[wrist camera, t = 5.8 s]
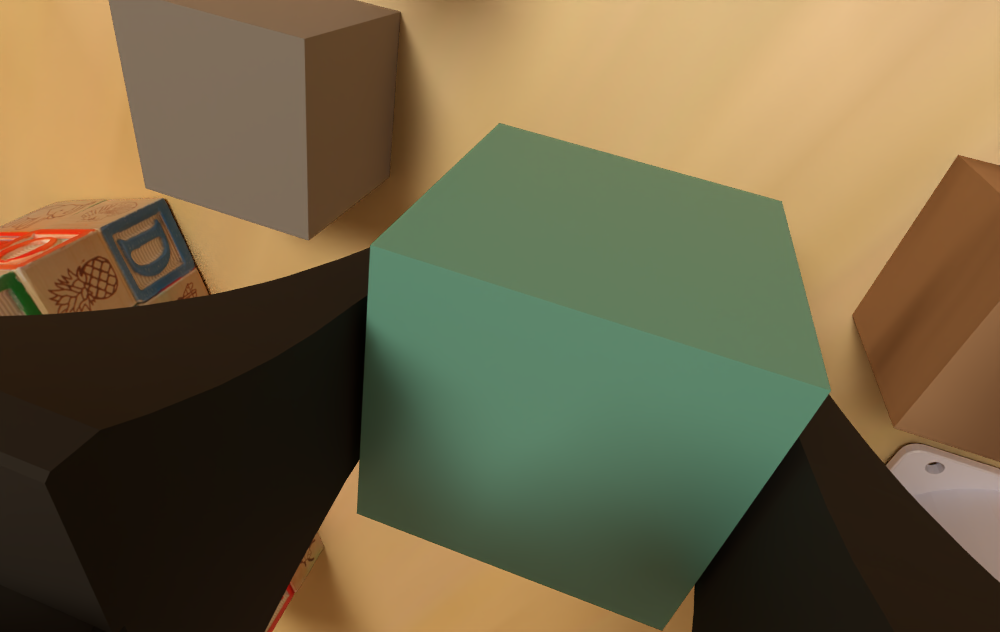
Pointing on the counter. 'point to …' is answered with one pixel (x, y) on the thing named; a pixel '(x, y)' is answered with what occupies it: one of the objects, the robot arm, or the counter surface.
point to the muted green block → (582, 368)
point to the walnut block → (942, 316)
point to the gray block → (261, 103)
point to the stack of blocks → (105, 275)
